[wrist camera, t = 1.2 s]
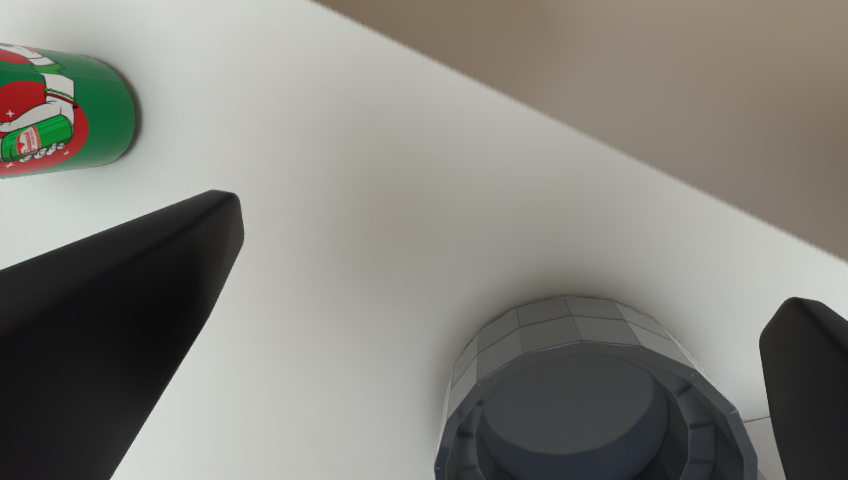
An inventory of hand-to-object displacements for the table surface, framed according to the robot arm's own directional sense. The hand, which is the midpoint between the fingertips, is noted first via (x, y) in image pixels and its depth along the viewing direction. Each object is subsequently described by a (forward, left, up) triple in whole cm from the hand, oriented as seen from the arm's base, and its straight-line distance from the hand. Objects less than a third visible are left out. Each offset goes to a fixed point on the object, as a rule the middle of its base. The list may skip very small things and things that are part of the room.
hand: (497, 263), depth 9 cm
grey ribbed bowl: (-2, -12, -15) cm, 19 cm away
